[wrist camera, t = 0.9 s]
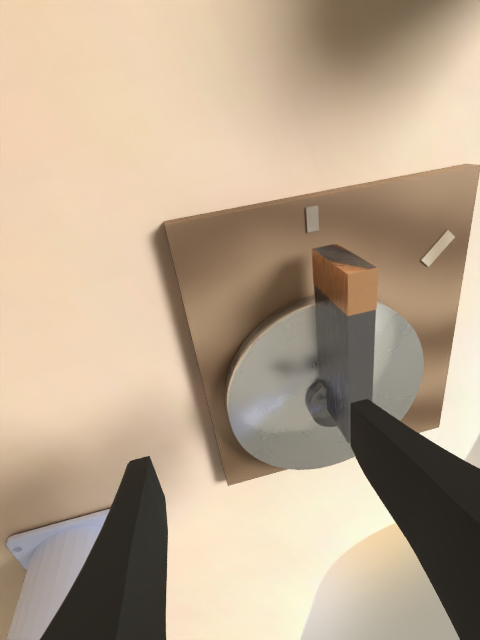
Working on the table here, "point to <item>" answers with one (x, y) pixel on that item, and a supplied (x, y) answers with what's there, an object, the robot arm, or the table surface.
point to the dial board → (297, 276)
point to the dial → (322, 367)
